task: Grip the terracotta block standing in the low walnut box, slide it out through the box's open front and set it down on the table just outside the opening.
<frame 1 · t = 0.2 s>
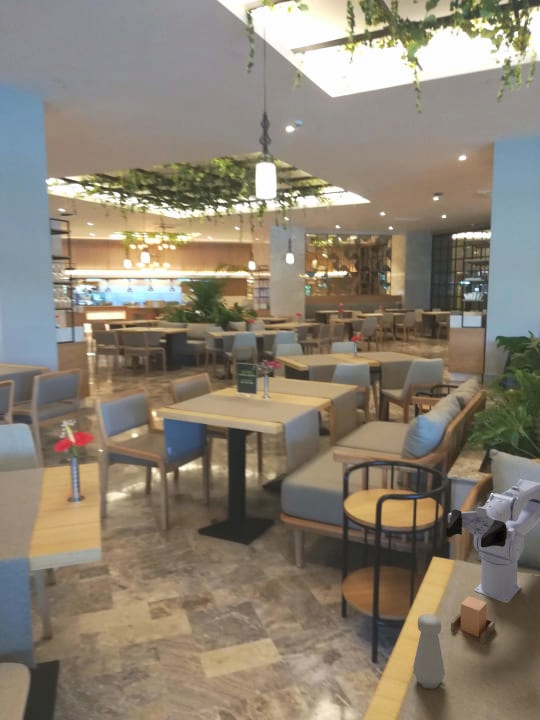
hand: (464, 537, 115), 21 cm above the table, tool horizontal, fingers open, 7 cm apart
box: (472, 631, 116), on the table
block: (473, 628, 116), resting on box
salt shaker: (428, 682, 102), on the table
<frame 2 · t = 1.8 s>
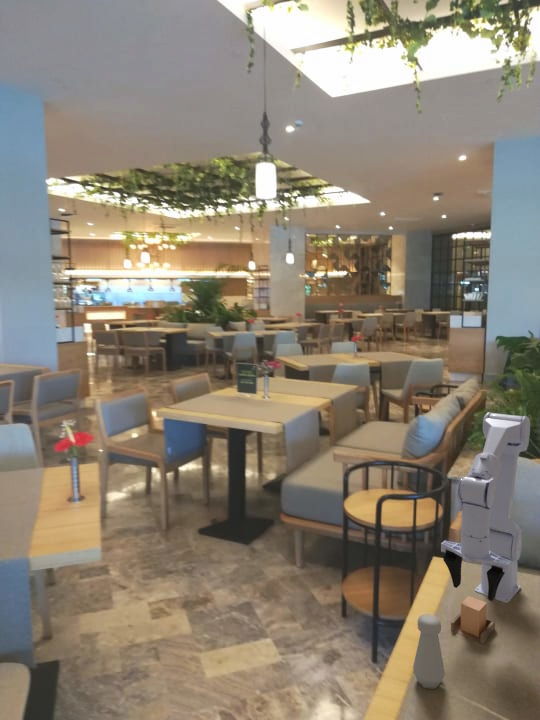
hand: (474, 592, 115), 9 cm above the table, tool pointing down, fingers open, 7 cm apart
nothing on the table moved.
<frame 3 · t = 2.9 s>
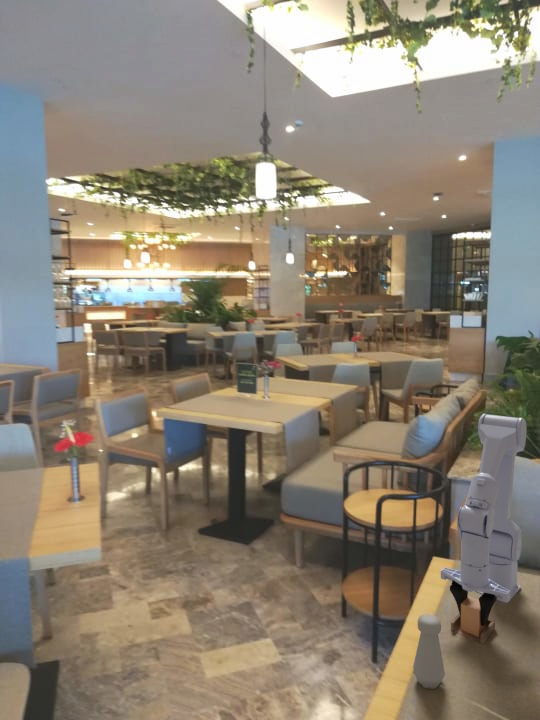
hand: (473, 619, 116), 3 cm above the table, tool pointing down, fingers closed on block, 4 cm apart
block: (473, 628, 116), resting on box, touching gripper
everything else where it was.
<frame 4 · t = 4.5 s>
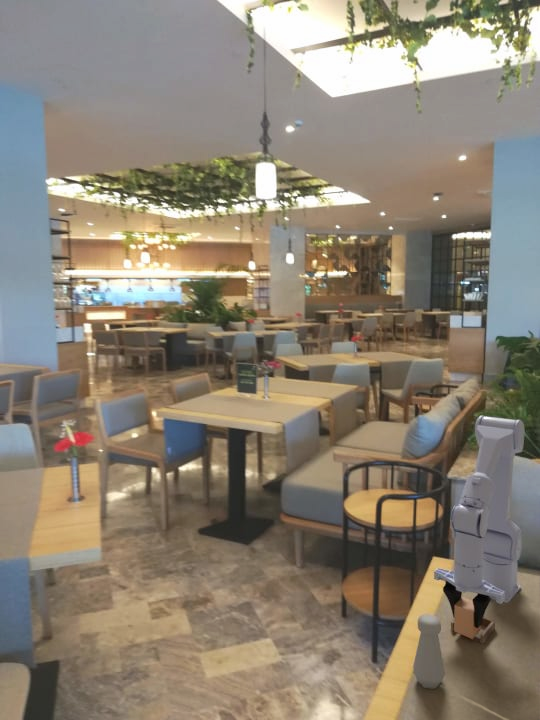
hand: (467, 621, 114), 4 cm above the table, tool pointing down, fingers closed on block, 4 cm apart
block: (467, 630, 114), point 2 cm above the table, touching gripper
everything else where it was.
when the fingers open (3 cm above the table, at t = 6.3 s): block drops 1 cm, on the table.
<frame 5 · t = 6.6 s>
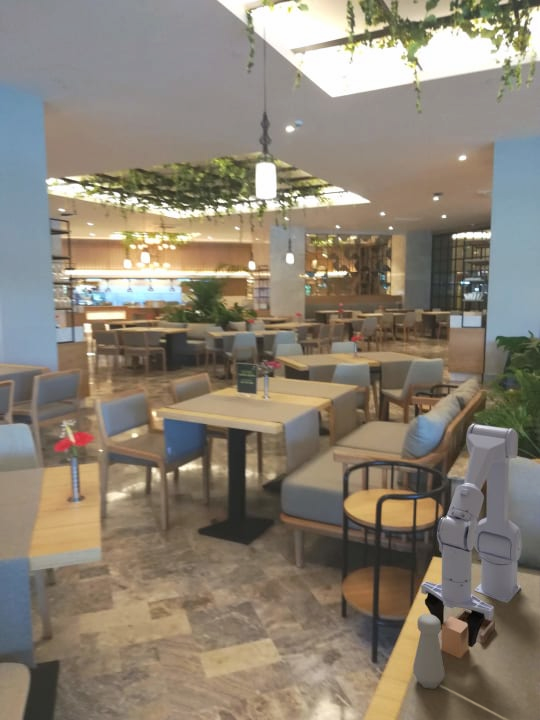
hand: (455, 636, 110), 3 cm above the table, tool pointing down, fingers open, 6 cm apart
block: (455, 651, 110), on the table
everything else where it was.
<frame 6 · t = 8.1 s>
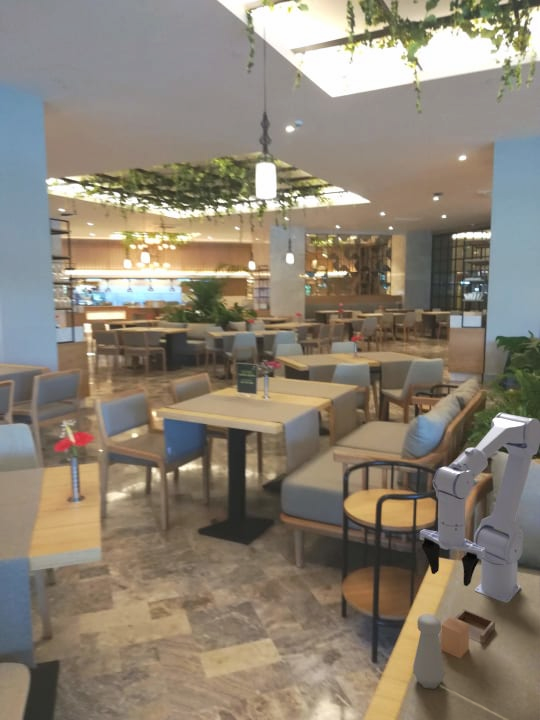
hand: (450, 577, 120), 9 cm above the table, tool pointing down, fingers open, 7 cm apart
nothing on the table moved.
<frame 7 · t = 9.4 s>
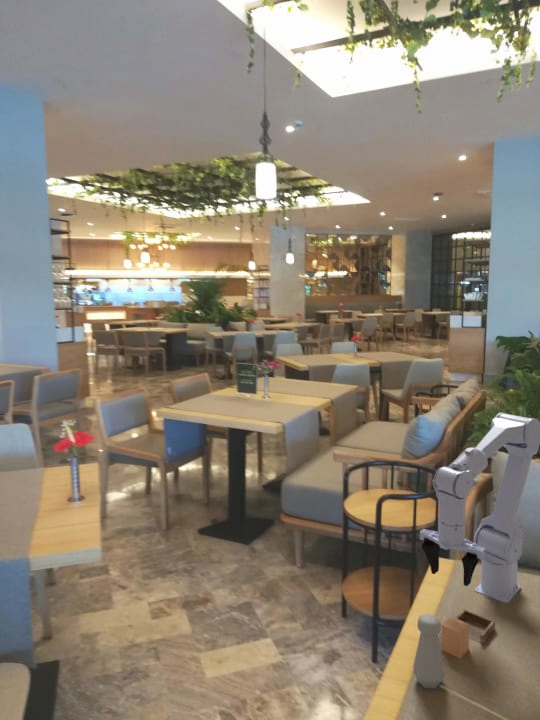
hand: (450, 577, 120), 9 cm above the table, tool pointing down, fingers open, 7 cm apart
nothing on the table moved.
at the end: block 0.0 cm from the target spot, on the table; block tilted 0°; block touching table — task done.
